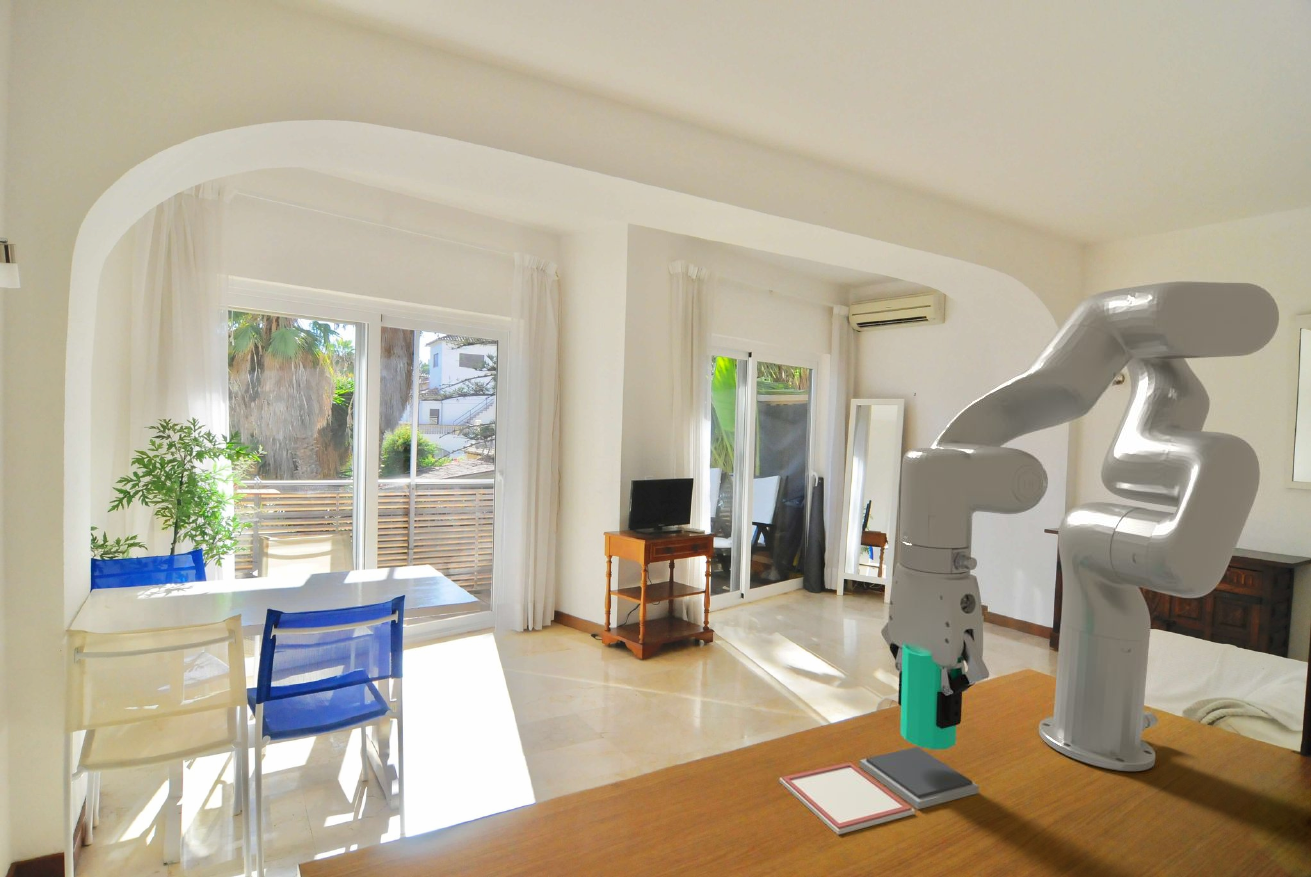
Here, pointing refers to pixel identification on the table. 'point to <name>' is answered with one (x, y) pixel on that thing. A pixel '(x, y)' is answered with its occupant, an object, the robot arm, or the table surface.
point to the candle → (922, 702)
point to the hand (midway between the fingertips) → (928, 712)
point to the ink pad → (919, 777)
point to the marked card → (845, 797)
